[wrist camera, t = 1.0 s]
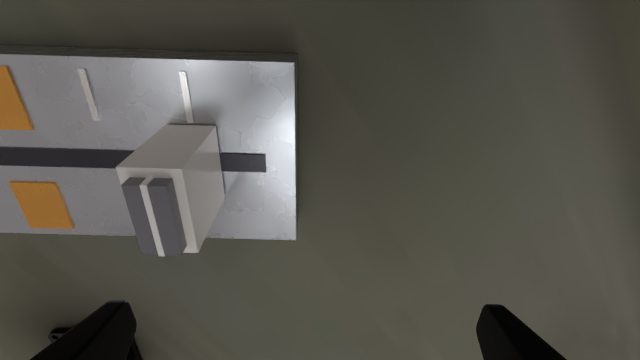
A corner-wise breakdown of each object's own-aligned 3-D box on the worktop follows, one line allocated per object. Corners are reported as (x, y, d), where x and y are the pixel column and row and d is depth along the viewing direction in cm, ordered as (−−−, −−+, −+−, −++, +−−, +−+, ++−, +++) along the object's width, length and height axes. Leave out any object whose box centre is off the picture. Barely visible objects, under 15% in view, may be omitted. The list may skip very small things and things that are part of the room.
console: (298, 215, 22) (295, 241, 20) (20, 208, 22) (-15, 233, 20) (297, 53, 17) (294, 63, 15) (-60, 43, 17) (-120, 50, 15)
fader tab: (225, 196, 18) (193, 263, 14) (180, 195, 18) (133, 262, 14) (215, 125, 16) (175, 177, 12) (165, 124, 16) (105, 175, 12)
